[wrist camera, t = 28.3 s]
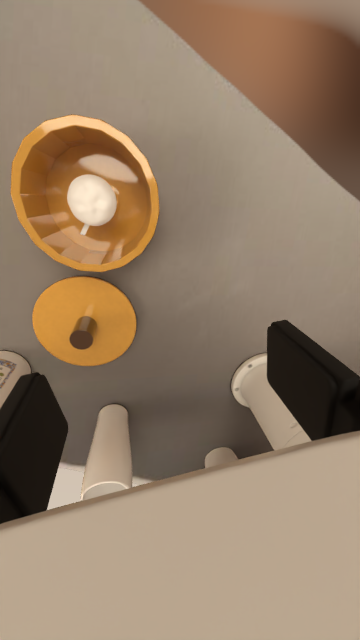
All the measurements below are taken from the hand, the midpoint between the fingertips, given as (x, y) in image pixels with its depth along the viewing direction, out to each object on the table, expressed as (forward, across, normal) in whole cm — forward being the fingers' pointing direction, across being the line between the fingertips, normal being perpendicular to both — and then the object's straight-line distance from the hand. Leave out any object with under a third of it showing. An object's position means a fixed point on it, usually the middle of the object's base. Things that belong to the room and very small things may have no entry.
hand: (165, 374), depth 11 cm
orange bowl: (+28, +4, -7) cm, 29 cm away
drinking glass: (+28, +11, +28) cm, 41 cm away
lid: (+28, +10, +9) cm, 31 cm away
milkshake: (+28, +4, -7) cm, 29 cm away
